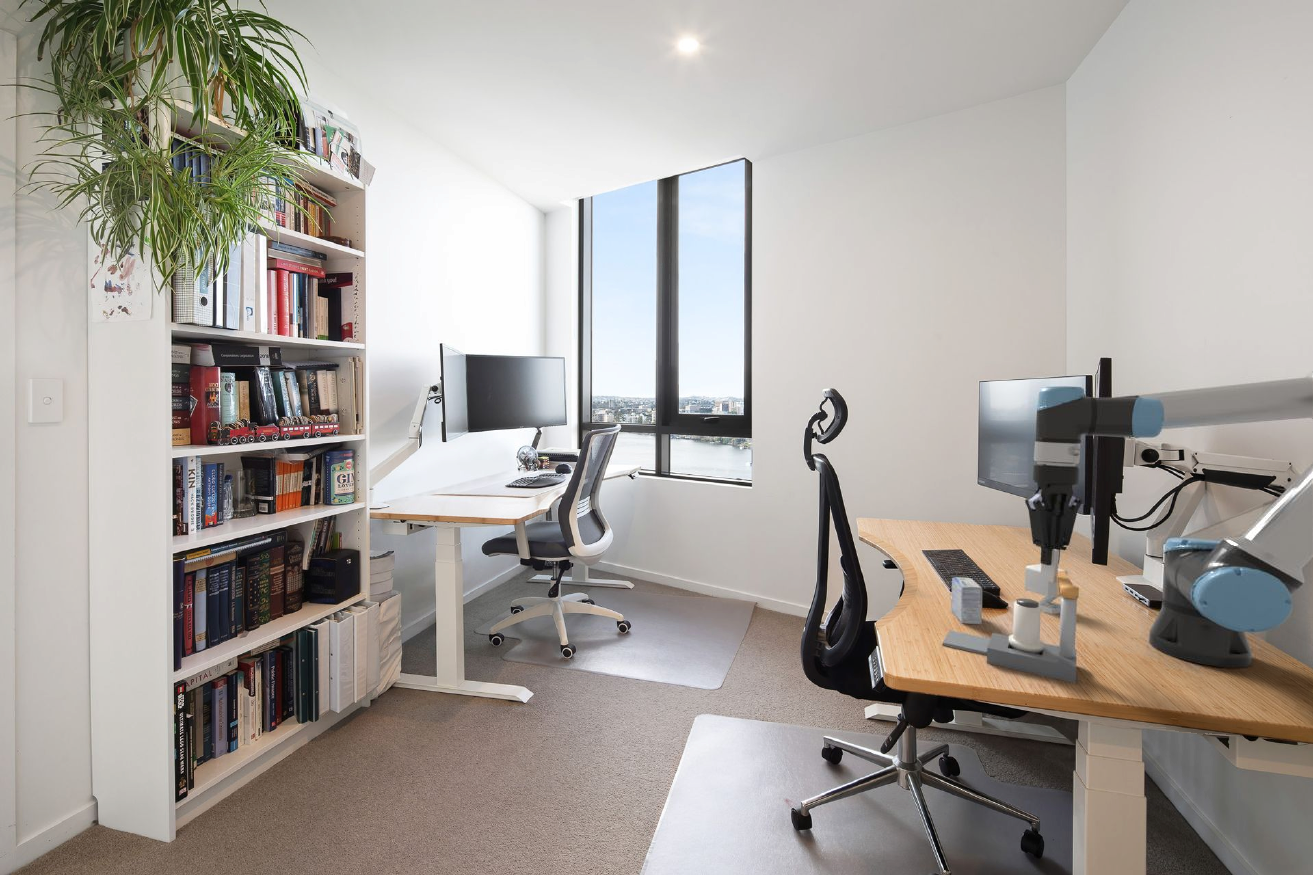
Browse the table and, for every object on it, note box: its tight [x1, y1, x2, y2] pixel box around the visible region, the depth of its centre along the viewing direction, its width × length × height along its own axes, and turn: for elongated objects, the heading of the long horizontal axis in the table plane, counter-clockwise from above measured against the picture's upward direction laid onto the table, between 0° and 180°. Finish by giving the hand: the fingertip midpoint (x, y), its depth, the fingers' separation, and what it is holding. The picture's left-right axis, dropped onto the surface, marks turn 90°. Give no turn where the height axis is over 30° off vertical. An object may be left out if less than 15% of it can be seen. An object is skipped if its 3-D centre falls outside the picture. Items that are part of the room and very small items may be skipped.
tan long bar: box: [1057, 571, 1080, 600], centre depth 113 cm, size 14×3×4 cm, turn 152°
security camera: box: [1024, 563, 1069, 615], centre depth 142 cm, size 6×7×10 cm
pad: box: [942, 630, 991, 656], centre depth 121 cm, size 8×8×1 cm
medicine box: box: [950, 576, 983, 626], centre depth 135 cm, size 8×4×9 cm, turn 168°
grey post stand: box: [986, 596, 1078, 684], centre depth 111 cm, size 14×9×14 cm, turn 54°
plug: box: [1008, 598, 1044, 655], centre depth 112 cm, size 6×6×12 cm
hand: (1048, 580), depth 116 cm, fingers closed
